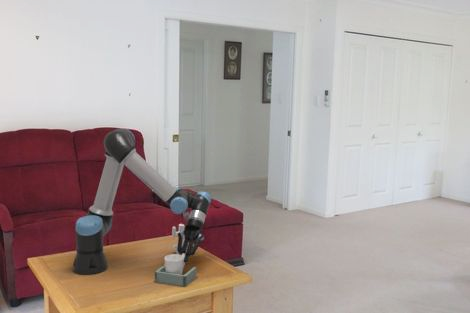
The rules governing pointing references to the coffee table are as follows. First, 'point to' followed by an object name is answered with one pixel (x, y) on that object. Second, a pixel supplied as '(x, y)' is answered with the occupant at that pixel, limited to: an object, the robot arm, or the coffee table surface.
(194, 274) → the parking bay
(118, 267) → the coffee table surface
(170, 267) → the white cup
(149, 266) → the coffee table surface
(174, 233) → the figurine
